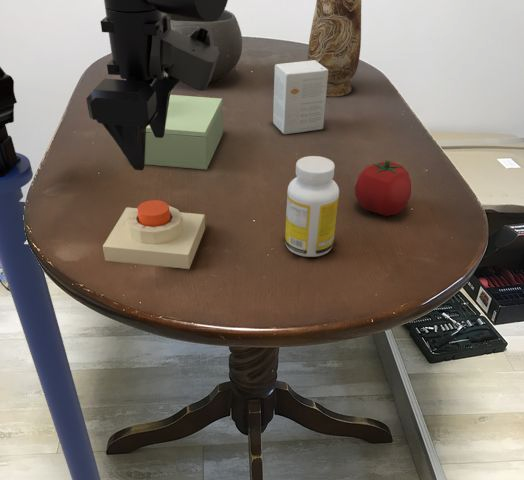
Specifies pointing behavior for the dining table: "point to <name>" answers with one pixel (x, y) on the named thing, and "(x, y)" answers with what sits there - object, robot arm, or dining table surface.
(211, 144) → the box
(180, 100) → the lid
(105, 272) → the dining table surface
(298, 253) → the pill bottle
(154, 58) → the robot arm
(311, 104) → the small box
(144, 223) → the button
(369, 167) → the tomato
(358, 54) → the vase
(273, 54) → the dining table surface
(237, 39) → the bowl
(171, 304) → the dining table surface
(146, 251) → the release console
